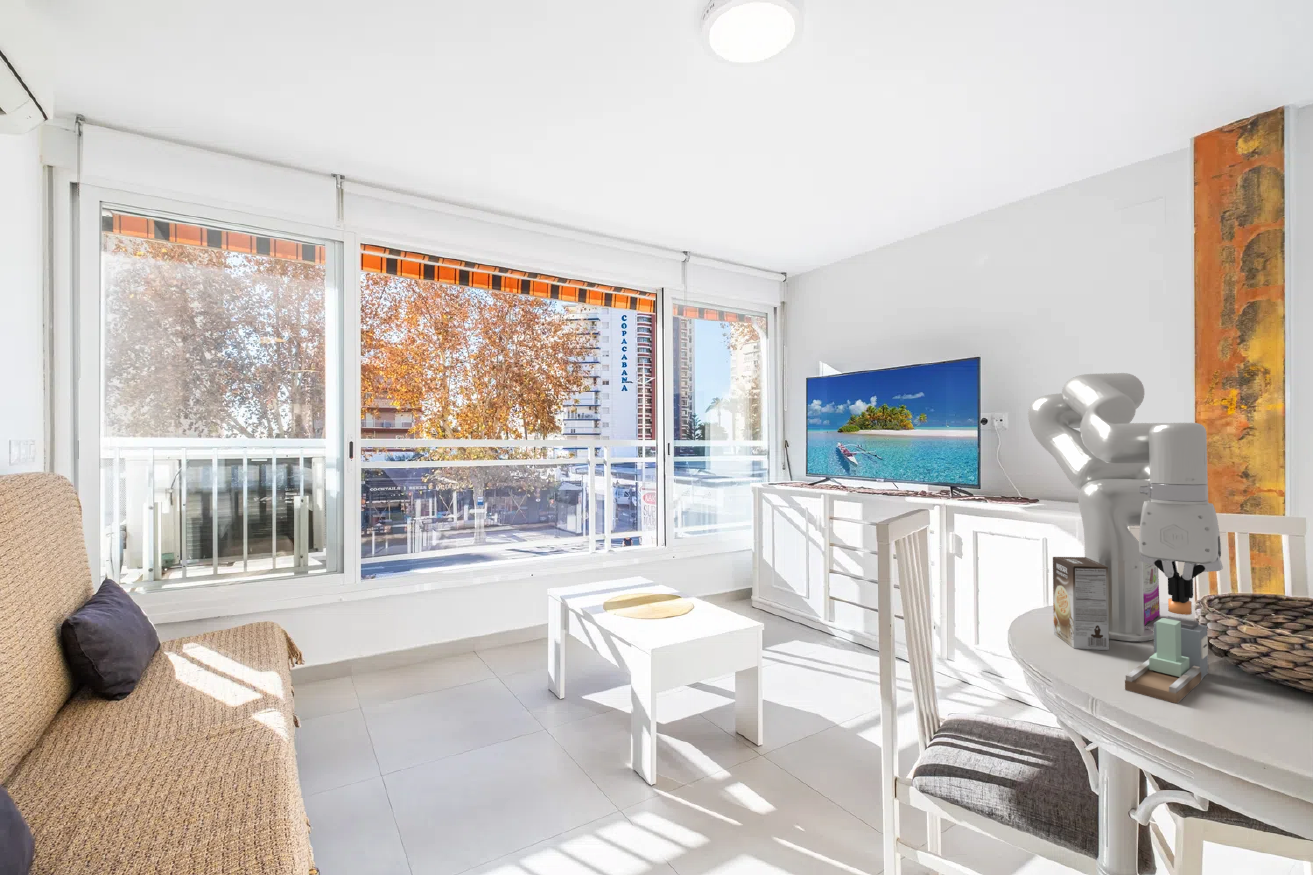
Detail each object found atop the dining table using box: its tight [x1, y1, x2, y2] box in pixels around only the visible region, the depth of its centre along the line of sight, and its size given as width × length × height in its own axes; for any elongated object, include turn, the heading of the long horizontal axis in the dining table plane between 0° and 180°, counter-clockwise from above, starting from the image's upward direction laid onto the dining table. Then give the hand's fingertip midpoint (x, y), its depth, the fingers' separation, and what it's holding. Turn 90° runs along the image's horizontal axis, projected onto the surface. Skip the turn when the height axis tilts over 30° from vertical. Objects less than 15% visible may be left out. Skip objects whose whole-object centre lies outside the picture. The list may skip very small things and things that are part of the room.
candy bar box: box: [1138, 540, 1161, 626], centre depth 131 cm, size 11×5×16 cm, turn 126°
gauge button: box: [1167, 597, 1193, 616], centre depth 102 cm, size 3×3×2 cm
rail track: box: [1124, 658, 1202, 705], centre depth 96 cm, size 14×6×2 cm, turn 126°
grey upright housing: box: [1153, 616, 1209, 680], centre depth 102 cm, size 5×6×9 cm
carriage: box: [1148, 617, 1189, 677], centre depth 98 cm, size 5×4×8 cm
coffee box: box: [1052, 556, 1110, 651], centre depth 117 cm, size 9×6×16 cm
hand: (1180, 600), depth 102 cm, fingers closed
